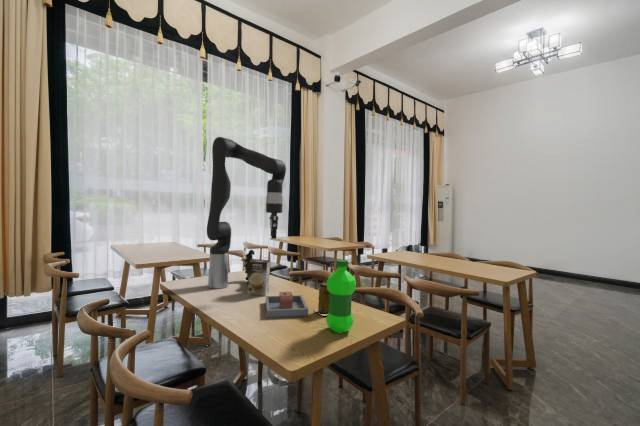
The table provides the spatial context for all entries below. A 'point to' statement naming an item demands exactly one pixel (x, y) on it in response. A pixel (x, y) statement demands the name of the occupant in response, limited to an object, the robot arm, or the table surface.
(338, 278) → the plastic bottle
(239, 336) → the table surface
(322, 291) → the condiment
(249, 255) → the toy figurine
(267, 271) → the coffee box
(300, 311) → the tray
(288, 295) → the red block
